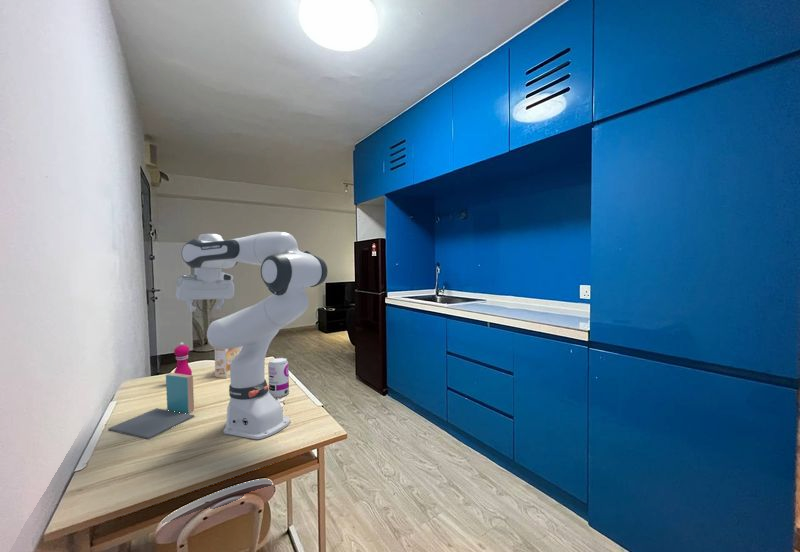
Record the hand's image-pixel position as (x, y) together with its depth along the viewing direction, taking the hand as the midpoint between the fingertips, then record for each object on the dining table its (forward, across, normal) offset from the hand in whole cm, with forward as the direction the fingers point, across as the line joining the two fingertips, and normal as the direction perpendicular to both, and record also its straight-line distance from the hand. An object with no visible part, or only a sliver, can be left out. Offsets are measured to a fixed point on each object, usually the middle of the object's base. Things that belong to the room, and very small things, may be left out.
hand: (205, 310), depth 125 cm
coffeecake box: (+39, +30, +31) cm, 58 cm away
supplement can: (+36, +26, -14) cm, 47 cm away
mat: (+40, -14, +2) cm, 43 cm away
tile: (+40, -4, +5) cm, 40 cm away
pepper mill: (+41, +10, +36) cm, 56 cm away
